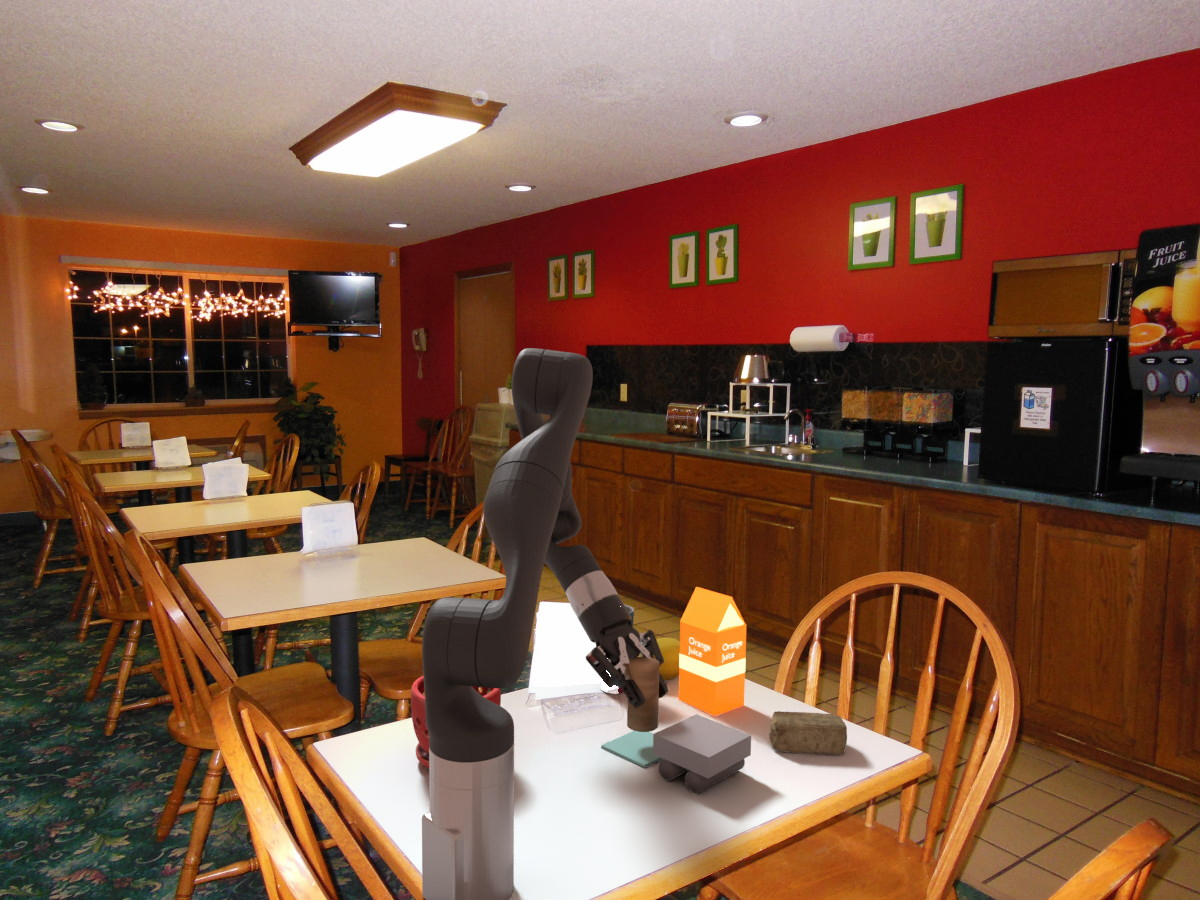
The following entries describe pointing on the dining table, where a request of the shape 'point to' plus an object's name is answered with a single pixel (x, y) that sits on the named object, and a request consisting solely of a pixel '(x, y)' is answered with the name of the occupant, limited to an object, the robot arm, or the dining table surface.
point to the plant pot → (420, 715)
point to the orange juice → (712, 653)
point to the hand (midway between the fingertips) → (652, 699)
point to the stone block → (808, 733)
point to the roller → (644, 694)
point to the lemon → (669, 657)
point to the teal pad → (634, 748)
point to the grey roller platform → (700, 751)
